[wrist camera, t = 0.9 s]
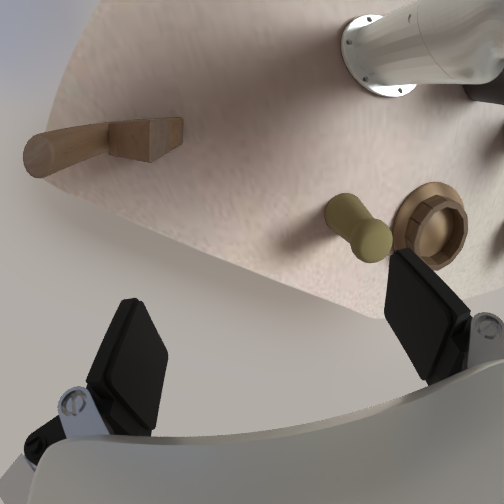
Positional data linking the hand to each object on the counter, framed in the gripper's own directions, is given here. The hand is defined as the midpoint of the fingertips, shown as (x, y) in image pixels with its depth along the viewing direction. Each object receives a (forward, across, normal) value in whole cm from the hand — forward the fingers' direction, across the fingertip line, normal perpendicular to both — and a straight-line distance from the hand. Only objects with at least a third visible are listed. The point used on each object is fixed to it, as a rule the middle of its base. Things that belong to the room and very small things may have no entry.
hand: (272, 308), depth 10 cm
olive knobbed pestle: (+28, -13, +9) cm, 32 cm away
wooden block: (+28, +12, -8) cm, 32 cm away
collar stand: (+28, -29, +14) cm, 43 cm away
